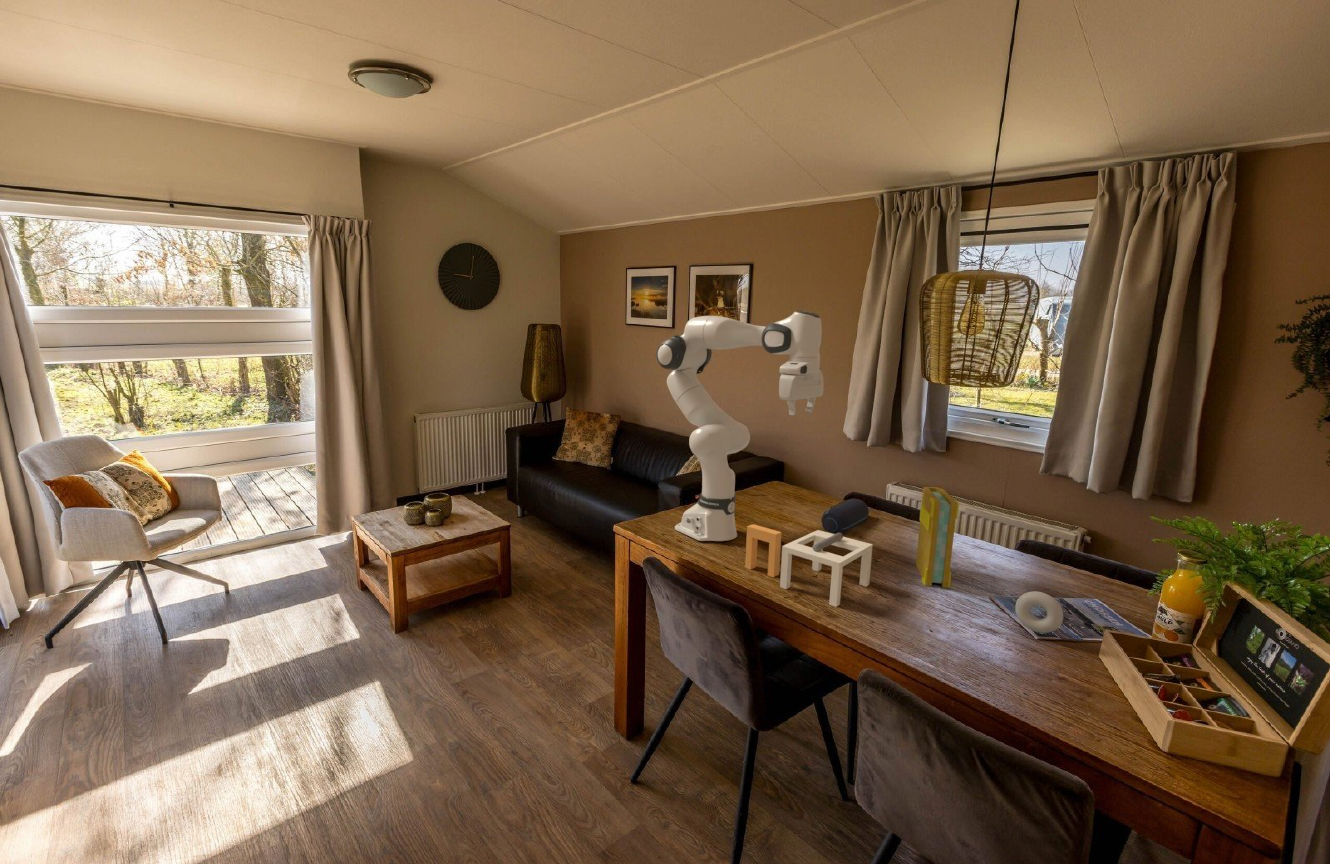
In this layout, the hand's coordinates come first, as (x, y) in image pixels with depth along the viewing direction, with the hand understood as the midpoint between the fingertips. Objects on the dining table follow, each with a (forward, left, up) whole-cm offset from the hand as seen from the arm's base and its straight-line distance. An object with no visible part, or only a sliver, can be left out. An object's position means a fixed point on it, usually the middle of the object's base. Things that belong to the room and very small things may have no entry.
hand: (800, 413), depth 177 cm
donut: (+65, +4, -47) cm, 80 cm away
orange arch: (-2, -13, -47) cm, 48 cm away
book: (+35, +21, -47) cm, 62 cm away
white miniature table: (+16, -9, -47) cm, 50 cm away
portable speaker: (-3, +42, -47) cm, 63 cm away
